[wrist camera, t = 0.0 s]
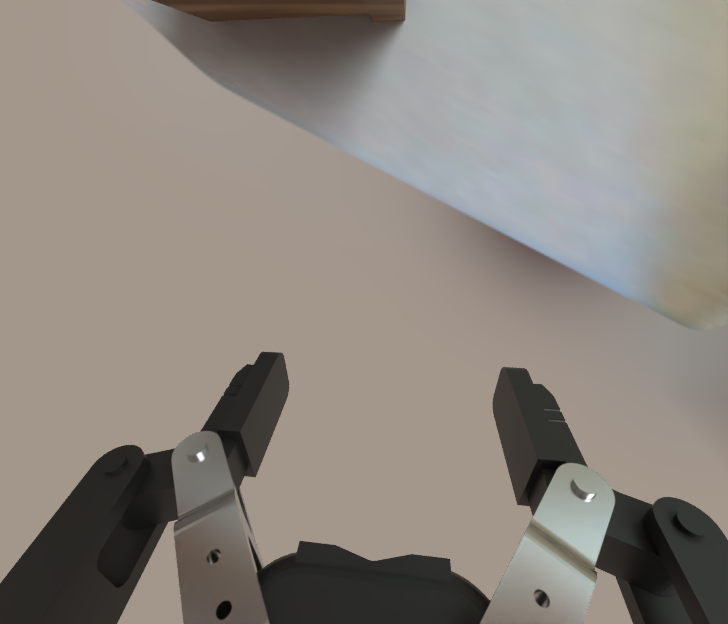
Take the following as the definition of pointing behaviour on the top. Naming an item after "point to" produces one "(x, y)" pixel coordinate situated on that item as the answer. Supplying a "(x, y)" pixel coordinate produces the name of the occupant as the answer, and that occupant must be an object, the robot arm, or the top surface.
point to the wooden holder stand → (288, 8)
